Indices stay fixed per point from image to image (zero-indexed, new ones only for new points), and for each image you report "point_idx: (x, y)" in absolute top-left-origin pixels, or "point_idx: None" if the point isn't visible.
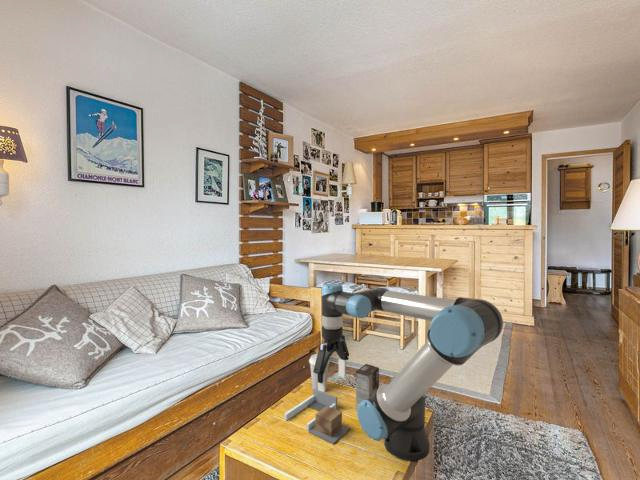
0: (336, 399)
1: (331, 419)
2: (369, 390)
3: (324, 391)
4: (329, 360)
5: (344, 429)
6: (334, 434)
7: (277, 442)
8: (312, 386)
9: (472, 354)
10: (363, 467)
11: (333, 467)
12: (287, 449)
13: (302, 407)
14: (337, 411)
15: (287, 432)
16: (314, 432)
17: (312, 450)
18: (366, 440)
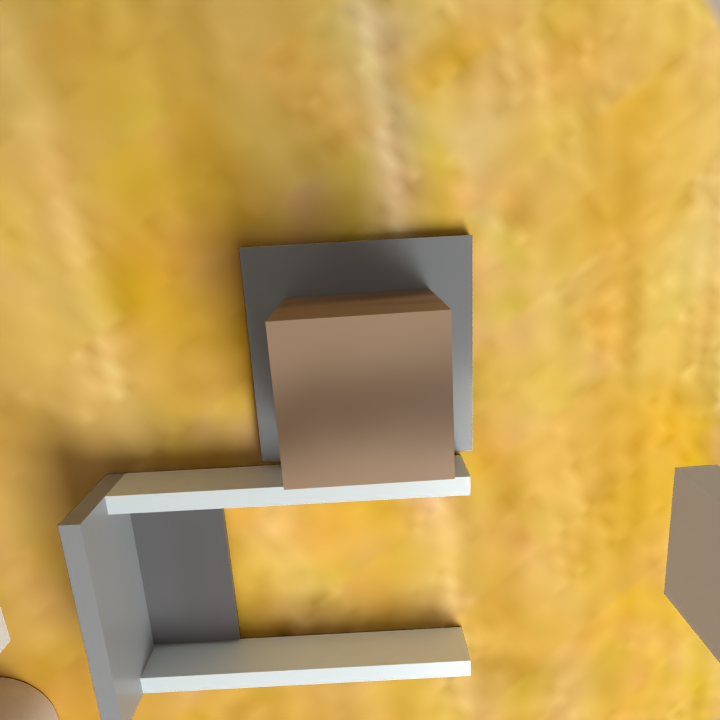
0: (80, 515)
1: (431, 322)
2: None
3: (717, 472)
4: None
5: (289, 268)
6: (389, 289)
7: (664, 521)
8: None
9: None
10: None
11: (669, 82)
12: (684, 433)
13: (292, 648)
14: (288, 359)
15: (550, 544)
16: (460, 411)
17: (604, 307)
18: (269, 61)
